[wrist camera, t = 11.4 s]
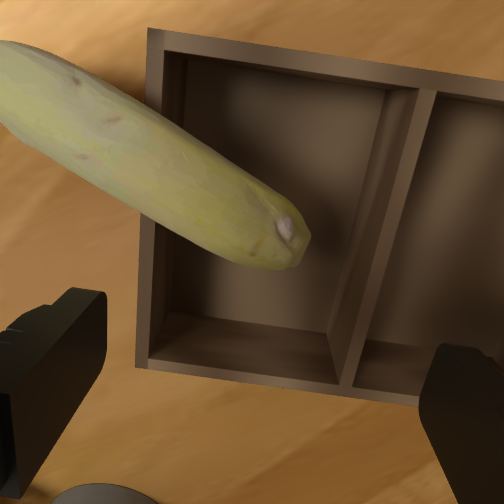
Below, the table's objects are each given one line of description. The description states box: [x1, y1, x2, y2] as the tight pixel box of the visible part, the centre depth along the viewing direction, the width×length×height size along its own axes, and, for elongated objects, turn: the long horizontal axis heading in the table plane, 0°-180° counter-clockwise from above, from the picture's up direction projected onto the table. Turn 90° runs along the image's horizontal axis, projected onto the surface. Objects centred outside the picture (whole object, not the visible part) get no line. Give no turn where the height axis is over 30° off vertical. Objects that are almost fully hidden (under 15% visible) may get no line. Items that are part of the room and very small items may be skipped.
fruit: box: [0, 40, 311, 271], centre depth 15 cm, size 7×15×3 cm
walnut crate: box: [135, 28, 504, 407], centre depth 19 cm, size 20×14×5 cm
